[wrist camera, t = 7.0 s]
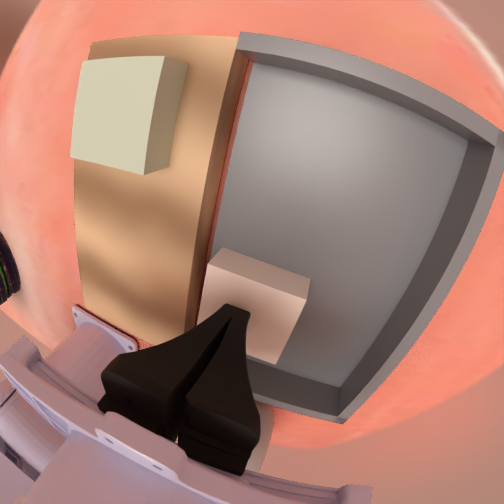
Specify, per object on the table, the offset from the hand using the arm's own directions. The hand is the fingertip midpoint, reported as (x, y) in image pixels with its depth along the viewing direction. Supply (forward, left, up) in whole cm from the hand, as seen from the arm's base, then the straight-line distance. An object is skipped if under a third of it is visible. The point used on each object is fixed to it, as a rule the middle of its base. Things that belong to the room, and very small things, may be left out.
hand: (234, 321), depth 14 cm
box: (+4, -3, -3) cm, 6 cm away
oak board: (+4, +7, -3) cm, 9 cm away
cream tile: (0, 0, -2) cm, 2 cm away
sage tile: (+9, +7, -1) cm, 12 cm away
